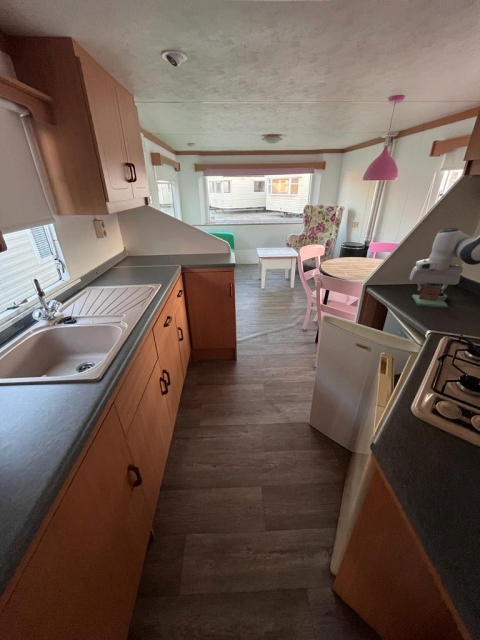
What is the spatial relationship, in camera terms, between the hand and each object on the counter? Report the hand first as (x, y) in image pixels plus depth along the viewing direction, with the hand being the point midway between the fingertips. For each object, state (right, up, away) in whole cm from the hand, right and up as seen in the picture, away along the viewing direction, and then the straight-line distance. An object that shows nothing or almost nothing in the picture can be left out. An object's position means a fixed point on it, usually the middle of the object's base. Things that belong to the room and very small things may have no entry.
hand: (429, 291), depth 133 cm
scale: (+2, -5, +3) cm, 6 cm away
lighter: (0, -4, +2) cm, 4 cm away
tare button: (+8, -2, +4) cm, 9 cm away
